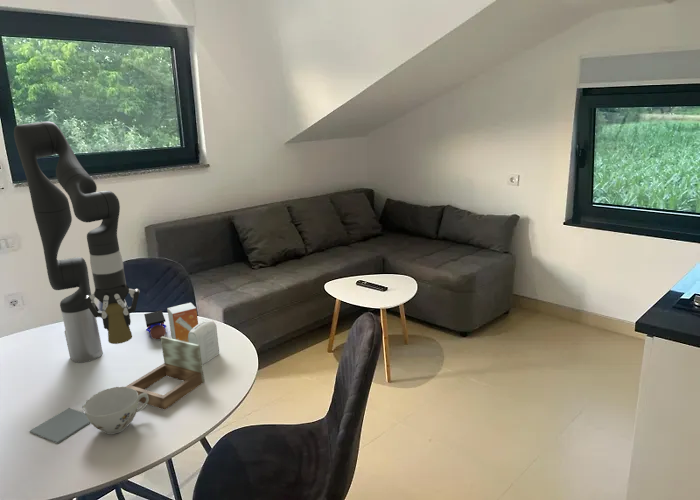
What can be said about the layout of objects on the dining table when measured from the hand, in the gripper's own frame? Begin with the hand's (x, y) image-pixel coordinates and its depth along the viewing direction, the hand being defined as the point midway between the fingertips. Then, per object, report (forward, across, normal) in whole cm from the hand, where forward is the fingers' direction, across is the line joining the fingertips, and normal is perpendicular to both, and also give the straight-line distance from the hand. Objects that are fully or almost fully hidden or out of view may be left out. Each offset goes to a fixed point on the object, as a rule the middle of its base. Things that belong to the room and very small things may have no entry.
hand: (118, 327), depth 140 cm
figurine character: (+22, +6, +40) cm, 46 cm away
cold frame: (+21, +10, -2) cm, 23 cm away
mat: (+21, -15, -9) cm, 27 cm away
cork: (+3, 0, 0) cm, 3 cm away
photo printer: (+21, +22, +13) cm, 33 cm away
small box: (+21, +16, +27) cm, 38 cm away
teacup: (+21, -1, -15) cm, 25 cm away
